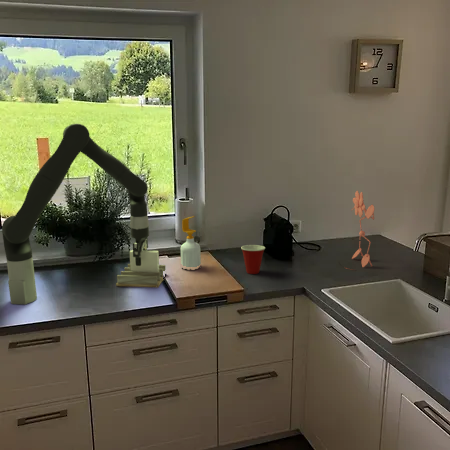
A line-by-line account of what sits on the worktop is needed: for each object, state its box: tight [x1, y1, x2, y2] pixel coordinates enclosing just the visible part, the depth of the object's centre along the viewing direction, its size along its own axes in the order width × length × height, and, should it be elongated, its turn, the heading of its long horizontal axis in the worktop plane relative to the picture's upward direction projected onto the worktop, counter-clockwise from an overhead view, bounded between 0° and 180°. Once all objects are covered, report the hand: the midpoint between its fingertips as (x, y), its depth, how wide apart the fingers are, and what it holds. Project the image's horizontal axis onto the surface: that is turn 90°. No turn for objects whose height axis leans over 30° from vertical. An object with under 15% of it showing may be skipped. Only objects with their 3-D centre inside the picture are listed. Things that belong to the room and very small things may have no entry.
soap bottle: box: [180, 215, 202, 267], centre depth 223 cm, size 9×9×25 cm
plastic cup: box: [240, 244, 266, 275], centre depth 219 cm, size 11×11×12 cm
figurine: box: [345, 190, 375, 271], centre depth 226 cm, size 15×26×35 cm, turn 5°
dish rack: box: [115, 263, 166, 289], centre depth 211 cm, size 16×18×4 cm
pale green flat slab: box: [129, 249, 160, 272], centre depth 209 cm, size 2×12×12 cm, turn 83°
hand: (141, 262), depth 209 cm, fingers open, 8 cm apart
